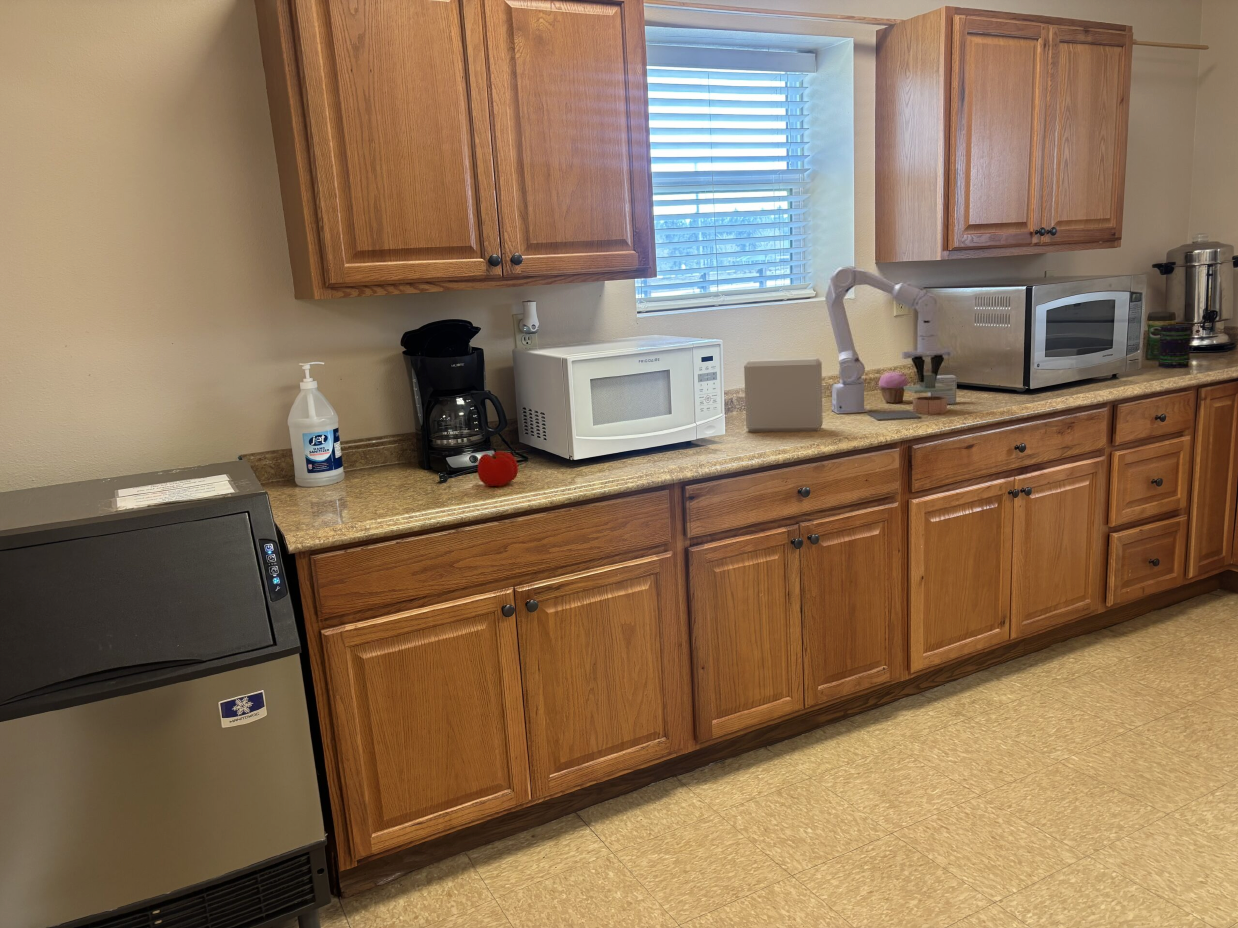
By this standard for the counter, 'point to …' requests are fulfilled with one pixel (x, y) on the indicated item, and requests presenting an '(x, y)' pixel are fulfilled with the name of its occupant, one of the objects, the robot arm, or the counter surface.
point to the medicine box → (950, 382)
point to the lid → (928, 385)
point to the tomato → (497, 468)
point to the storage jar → (1174, 346)
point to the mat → (893, 415)
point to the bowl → (930, 404)
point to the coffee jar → (1157, 331)
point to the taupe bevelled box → (783, 395)
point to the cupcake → (893, 386)
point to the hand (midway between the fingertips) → (927, 381)
